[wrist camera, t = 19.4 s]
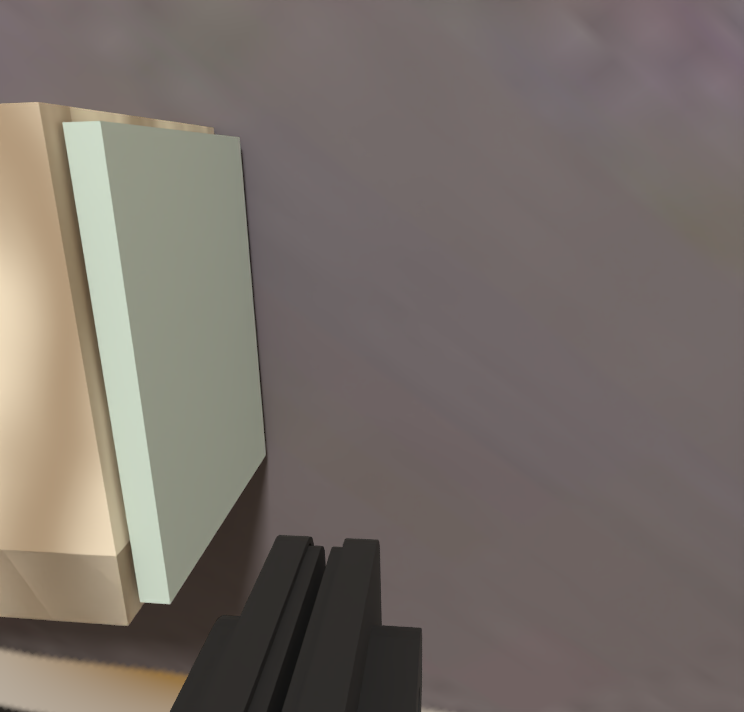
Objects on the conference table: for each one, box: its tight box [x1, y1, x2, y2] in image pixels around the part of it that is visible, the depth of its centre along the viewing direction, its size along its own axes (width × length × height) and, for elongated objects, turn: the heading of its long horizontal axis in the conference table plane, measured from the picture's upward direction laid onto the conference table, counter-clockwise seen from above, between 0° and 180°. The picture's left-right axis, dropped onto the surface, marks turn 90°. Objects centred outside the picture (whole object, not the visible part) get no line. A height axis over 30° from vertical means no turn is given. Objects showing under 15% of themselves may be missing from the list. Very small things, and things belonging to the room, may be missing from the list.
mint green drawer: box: [62, 121, 266, 604], centre depth 28 cm, size 17×17×12 cm
